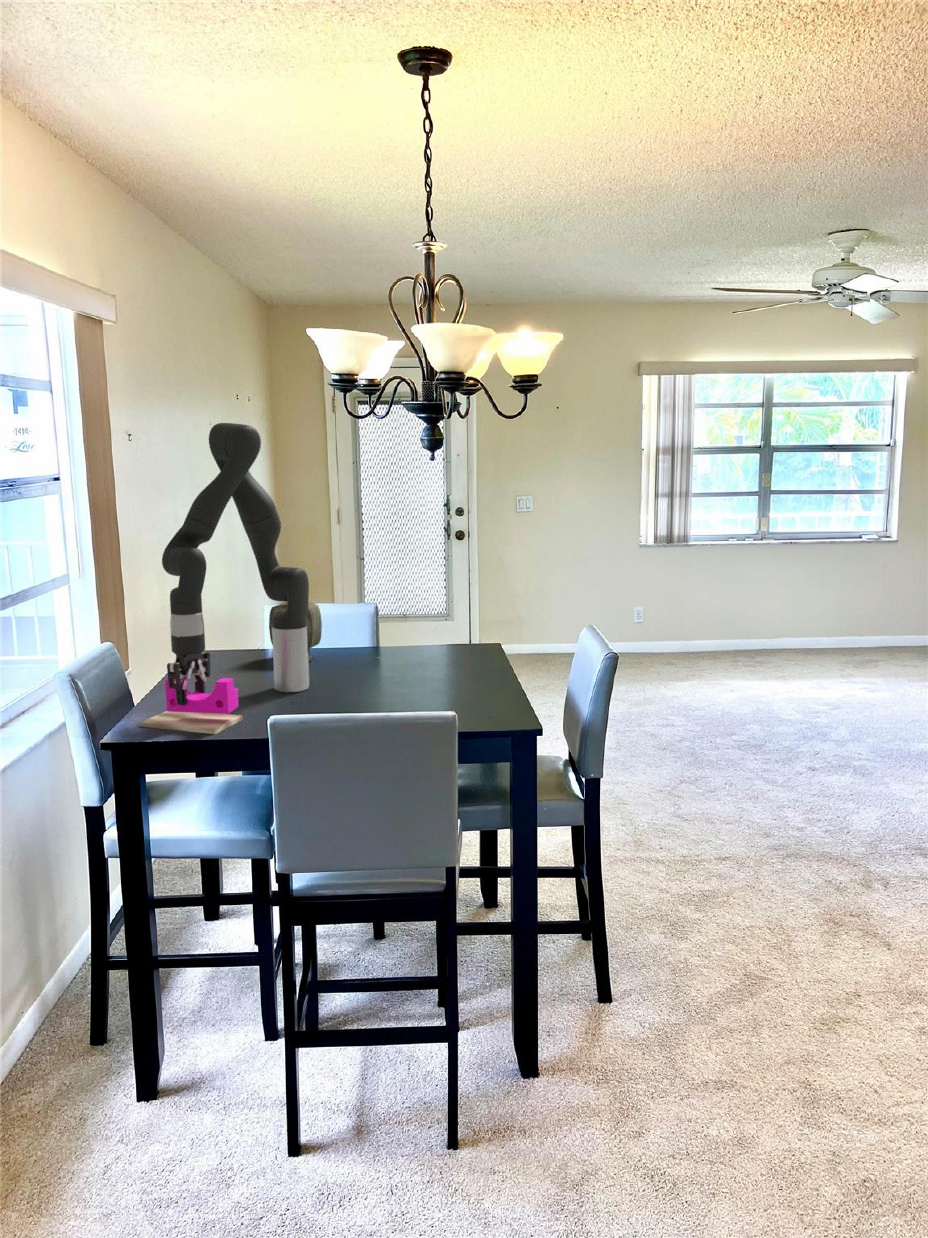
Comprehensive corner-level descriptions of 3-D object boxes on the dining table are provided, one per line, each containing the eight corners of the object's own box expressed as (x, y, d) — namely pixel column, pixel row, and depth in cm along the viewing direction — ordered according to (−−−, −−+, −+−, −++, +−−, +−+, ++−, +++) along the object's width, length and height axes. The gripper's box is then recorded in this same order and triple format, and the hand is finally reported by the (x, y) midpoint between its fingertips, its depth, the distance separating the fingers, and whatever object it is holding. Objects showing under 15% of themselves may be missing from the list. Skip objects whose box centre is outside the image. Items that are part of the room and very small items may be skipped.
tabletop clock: (270, 660, 276) (267, 580, 271) (282, 654, 284) (279, 577, 280) (313, 662, 272) (311, 582, 268) (324, 656, 281) (322, 578, 277)
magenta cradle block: (238, 706, 211) (237, 675, 210) (228, 713, 205) (226, 682, 204) (178, 704, 213) (177, 673, 212) (166, 711, 207) (165, 680, 205)
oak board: (171, 712, 218) (171, 708, 218) (243, 719, 213) (242, 715, 212) (140, 726, 207) (140, 722, 207) (214, 734, 201) (214, 730, 201)
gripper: (191, 625, 214) (195, 692, 217) (154, 636, 200) (158, 707, 203) (218, 627, 212) (222, 694, 215) (183, 638, 198) (187, 710, 201)
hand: (191, 700), depth 209 cm, fingers closed on magenta cradle block, 7 cm apart
